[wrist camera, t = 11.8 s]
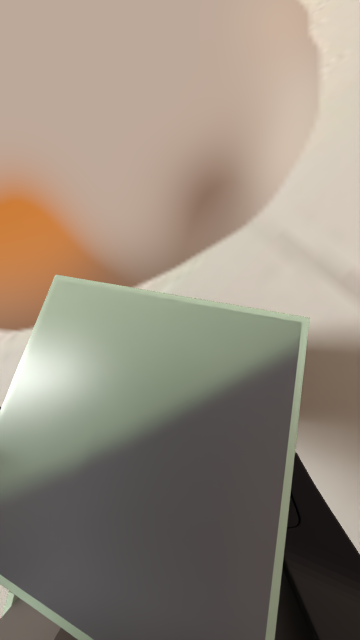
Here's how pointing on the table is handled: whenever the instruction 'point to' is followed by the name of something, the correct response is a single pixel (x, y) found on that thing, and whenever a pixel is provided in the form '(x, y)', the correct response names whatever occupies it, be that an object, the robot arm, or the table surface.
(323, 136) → the table surface
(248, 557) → the block
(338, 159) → the table surface
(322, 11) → the table surface
